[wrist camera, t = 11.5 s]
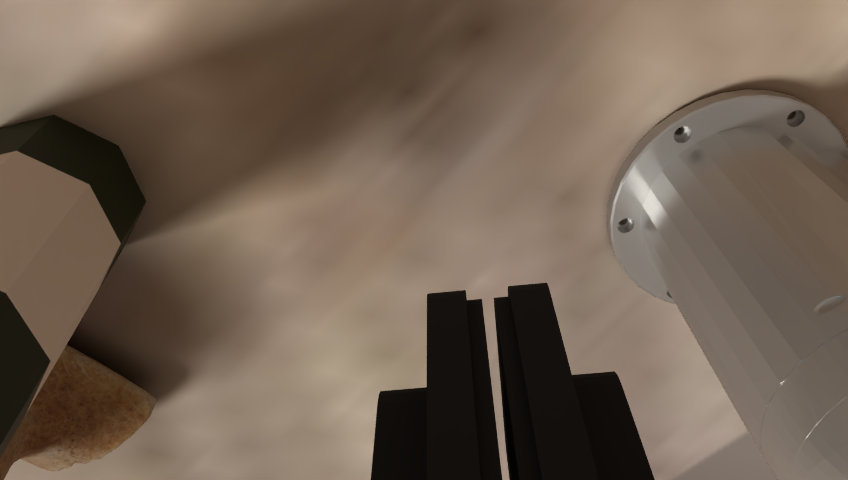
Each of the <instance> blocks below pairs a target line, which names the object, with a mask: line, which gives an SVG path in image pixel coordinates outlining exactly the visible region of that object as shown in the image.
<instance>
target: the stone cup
mask: <svg viewBox="0 0 848 480" xmlns="http://www.w3.org/2000/svg"><path fill="white" fill-rule="evenodd" d="M156 402H157V400H156V399H155V398H154V397H153V396H152V395H151V394H149V393H148V392H146V391H145V390H143V389H142V388H140V387H139V386H137V385H136V384H134V383H132V382H131V381H129V380H128V379H126V378H124V377H123V376H121V375H119V374H117V373H115V372H114V371H112V370H111V369H109V368H107V367H106V366H104V365H102V364H101V363H99V362H97V361H95V360H94V359H92V358H90V357H88V356H87V355H85V354H83V353H81V352H79V351H78V350H76V349H74V348H72V347H70V346H69V345H66V347H65V348H64V350H63V352H62V353H61V355H60V357H59V359H58V360H57V362H56V364H55V365H54V367H53V369H52V370H51V372H50V374H49V376H48V377H47V379H46V381H45V382H44V384H43V386H42V388H41V389H40V391H39V393H38V394H37V396H36V398H35V400H34V401H33V403H32V405H31V406H30V408H29V410H28V412H27V413H26V415H25V417H24V418H23V420H22V422H21V423H20V425H19V427H18V429H17V430H16V432H15V434H14V435H13V437H12V439H11V441H10V442H9V444H8V446H7V447H6V449H5V451H4V453H3V454H2V456H1V458H0V480H4V478H5V476H6V474H7V473H8V471H9V469H10V467H11V465H12V464H13V463H14V462H16V461H17V460H19V459H22V460H25V461H27V462H29V463H31V464H34V465H36V466H38V467H40V468H43V469H46V470H49V471H59V470H61V469H64V468H68V467H70V466H72V465H73V464H74V463H85V464H86V463H88V462H90V461H92V460H96V459H100V458H102V457H103V456H104V455H106V454H108V453H110V452H112V451H113V450H114V449H116V448H117V447H119V446H120V445H121V444H122V443H123V442H124V441H125V440H127V439H128V438H130V437H131V436H132V435H133V434H134V433H135V432H136V431H137V430H138V429H139V428H140V427H141V426H142V425H143V424H144V423H145V422H146V421H147V419H148V418H149V417H150V415H151V413H152V410H153V408H154V405H155V404H156Z"/></svg>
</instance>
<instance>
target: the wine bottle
mask: <svg viewBox="0 0 848 480" xmlns="http://www.w3.org/2000/svg"><path fill="white" fill-rule="evenodd" d="M145 202H146V201H145V199H144V197H143V194H142V192H141V190H140V188H139V186H138V184H137V182H136V180H135V178H134V176H133V174H132V172H131V170H130V168H129V166H128V164H127V162H126V160H125V158H124V156H123V154H122V152H121V150H120V148H119V146H117V145H115V144H113V143H111V142H109V141H107V140H105V139H103V138H101V137H99V136H97V135H94V134H92V133H90V132H88V131H86V130H84V129H82V128H80V127H78V126H76V125H74V124H72V123H70V122H68V121H66V120H63V119H61V118H59V117H57V116H55V115H52V116H48V117H43V118H39V119H35V120H31V121H27V122H23V123H19V124H15V125H11V126H7V127H3V128H0V458H1V456H2V454H3V453H4V451H5V449H6V447H7V446H8V444H9V442H10V441H11V439H12V437H13V435H14V434H15V432H16V430H17V429H18V427H19V425H20V423H21V422H22V420H23V418H24V417H25V415H26V413H27V412H28V410H29V408H30V406H31V405H32V403H33V401H34V400H35V398H36V396H37V394H38V393H39V391H40V389H41V388H42V386H43V384H44V382H45V381H46V379H47V377H48V376H49V374H50V372H51V370H52V369H53V367H54V365H55V364H56V362H57V360H58V359H59V357H60V355H61V353H62V352H63V350H64V348H65V347H66V345H67V343H68V341H69V340H70V338H71V336H72V335H73V333H74V331H75V329H76V328H77V326H78V324H79V323H80V321H81V319H82V317H83V316H84V314H85V312H86V311H87V309H88V307H89V305H90V304H91V302H92V300H93V299H94V297H95V295H96V294H97V292H98V290H99V288H100V287H101V285H102V283H103V282H104V280H105V278H106V276H107V275H108V273H109V271H110V270H111V268H112V266H113V264H114V263H115V261H116V259H117V258H118V256H119V254H120V252H121V251H122V249H123V247H124V245H125V243H126V241H127V239H128V237H129V235H130V233H131V231H132V229H133V227H134V225H135V223H136V221H137V219H138V217H139V214H140V212H141V210H142V208H143V206H144V204H145Z"/></svg>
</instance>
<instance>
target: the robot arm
mask: <svg viewBox="0 0 848 480" xmlns="http://www.w3.org/2000/svg"><path fill="white" fill-rule="evenodd" d="M680 127H681V129H680V130H679V131H677V132H675V131H676V130H677V129H678V128H680ZM623 219H624V220H623ZM606 225H607V230H608V236H609V241H610V244H611V246H612V249H613V251H614V253H615V256H616V258H617V260H618V262H619V263H620V265H621V267H622V268H623V270H624V272H625V273H626V275H627V276H628V277H629V278H630V279H631V280H632V281H633V282H634V283H635V284H636V285H637V286H638V287H640V288H641V289H643V290H644V291H646V292H648V293H649V294H651V295H652V296H654V297H656V298H659V299H661V300H664V301H666V302H669V303H673V304H676V305H677V307H678V309H679V310H680V312H681V314H682V316H683V317H684V319H685V321H686V323H687V324H688V326H689V328H690V330H691V332H692V333H693V335H694V337H695V339H696V340H697V342H698V344H699V346H700V347H701V349H702V351H703V353H704V354H705V356H706V358H707V360H708V361H709V363H710V365H711V367H712V369H713V370H714V372H715V374H716V376H717V377H718V379H719V381H720V383H721V384H722V386H723V388H724V390H725V391H726V393H727V395H728V397H729V398H730V400H731V402H732V404H733V406H734V407H735V409H736V411H737V413H738V414H739V416H740V418H741V420H742V421H743V423H744V425H745V427H746V428H747V430H748V432H749V434H750V435H751V437H752V439H753V441H754V443H755V444H756V446H757V448H758V450H759V451H760V453H761V455H762V457H763V458H764V460H765V462H766V464H767V465H768V466H769V468H770V470H771V471H772V473H773V475H774V477H775V478H776V480H848V146H847V144H846V142H845V140H844V138H843V136H842V134H841V132H840V131H839V130H838V129H837V127H836V126H835V125H834V124H833V123H832V122H831V121H830V120H829V119H828V117H826V116H825V115H824V114H822V113H821V112H820V111H818V110H817V109H816V108H814V107H813V106H812V105H810V104H808V103H806V102H804V101H802V100H800V99H798V98H796V97H794V96H792V95H788V94H784V93H779V92H775V91H771V90H750V89H746V90H739V91H732V92H725V93H720V94H717V95H714V96H711V97H708V98H705V99H702V100H698V101H696V102H694V103H692V104H690V105H688V106H686V107H684V108H682V109H680V110H678V111H677V112H675V113H673V114H672V115H670V116H669V117H668V118H666V119H665V120H663V121H662V122H661V123H659V124H658V125H657V126H655V127H654V128H653V129H652V130H651V131H650V132H649V133H648V134H647V135H646V136H645V137H644V138H643V139H642V140H641V141H640V142H639V143H638V144H637V145H636V146H635V147H634V149H633V150H632V152H631V153H630V154H629V156H628V157H627V159H626V160H625V161H624V163H623V164H622V166H621V168H620V170H619V172H618V174H617V176H616V179H615V181H614V183H613V185H612V189H611V193H610V196H609V200H608V204H607V222H606ZM494 307H495V319H496V332H497V344H498V356H499V369H500V381H501V394H502V406H503V418H504V431H505V442H506V452H507V462H508V470H509V478H510V480H654V477H653V474H652V471H651V468H650V465H649V462H648V460H647V457H646V454H645V451H644V448H643V445H642V442H641V439H640V437H639V434H638V431H637V428H636V425H635V422H634V419H633V416H632V413H631V411H630V408H629V405H628V402H627V399H626V396H625V393H624V390H623V388H622V385H621V382H620V380H619V377H618V375H617V374H616V373H615V372H604V373H592V374H580V375H572V374H571V371H570V367H569V363H568V359H567V355H566V352H565V348H564V344H563V340H562V336H561V332H560V329H559V325H558V321H557V317H556V313H555V310H554V306H553V302H552V298H551V294H550V291H549V287H548V284H547V283H539V284H528V285H517V286H508V297H499V298H494ZM371 480H502V474H501V466H500V457H499V448H498V439H497V430H496V421H495V413H494V404H493V395H492V386H491V377H490V368H489V359H488V351H487V342H486V333H485V324H484V315H483V306H482V299H477V300H467V299H466V291H465V290H463V291H452V292H442V293H431V294H427V387H426V388H415V389H403V390H391V391H381V392H380V394H379V398H378V406H377V417H376V428H375V440H374V451H373V462H372V473H371Z"/></svg>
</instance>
